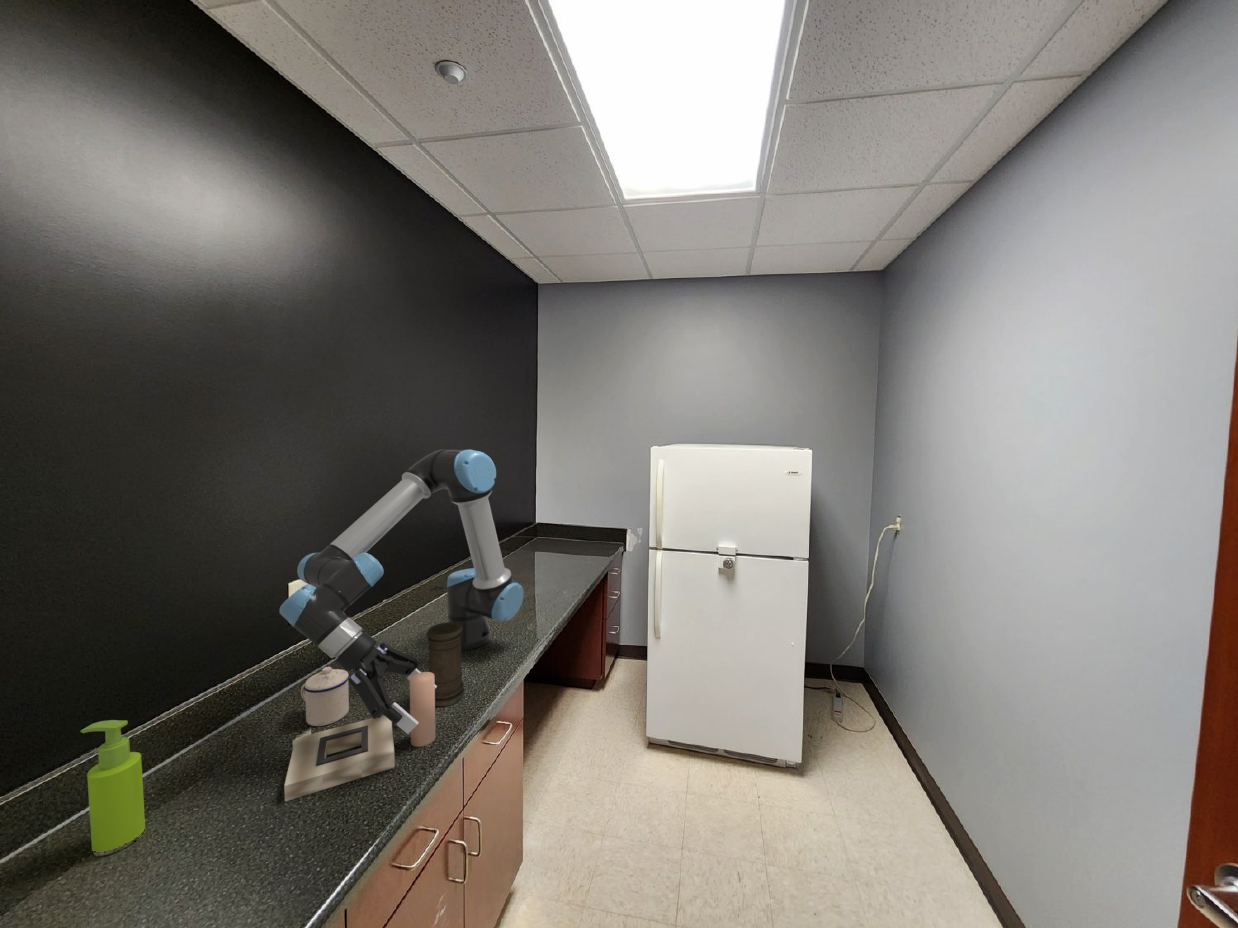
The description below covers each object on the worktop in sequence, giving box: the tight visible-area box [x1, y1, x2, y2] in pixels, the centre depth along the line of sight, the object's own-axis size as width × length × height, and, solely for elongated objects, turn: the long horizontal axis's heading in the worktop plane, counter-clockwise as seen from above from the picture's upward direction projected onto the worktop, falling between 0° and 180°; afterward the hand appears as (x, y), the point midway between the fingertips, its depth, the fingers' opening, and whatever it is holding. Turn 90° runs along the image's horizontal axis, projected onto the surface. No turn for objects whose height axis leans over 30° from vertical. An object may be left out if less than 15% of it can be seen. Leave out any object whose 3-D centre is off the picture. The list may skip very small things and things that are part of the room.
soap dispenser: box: [80, 719, 146, 852], centre depth 74 cm, size 6×7×20 cm
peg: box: [409, 671, 436, 748], centre depth 100 cm, size 5×5×14 cm
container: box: [426, 621, 465, 707], centre depth 116 cm, size 9×9×18 cm
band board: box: [284, 715, 396, 803], centre depth 94 cm, size 18×15×3 cm
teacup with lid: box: [300, 666, 350, 727], centre depth 108 cm, size 12×9×12 cm
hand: (423, 708), depth 99 cm, fingers open, 13 cm apart
